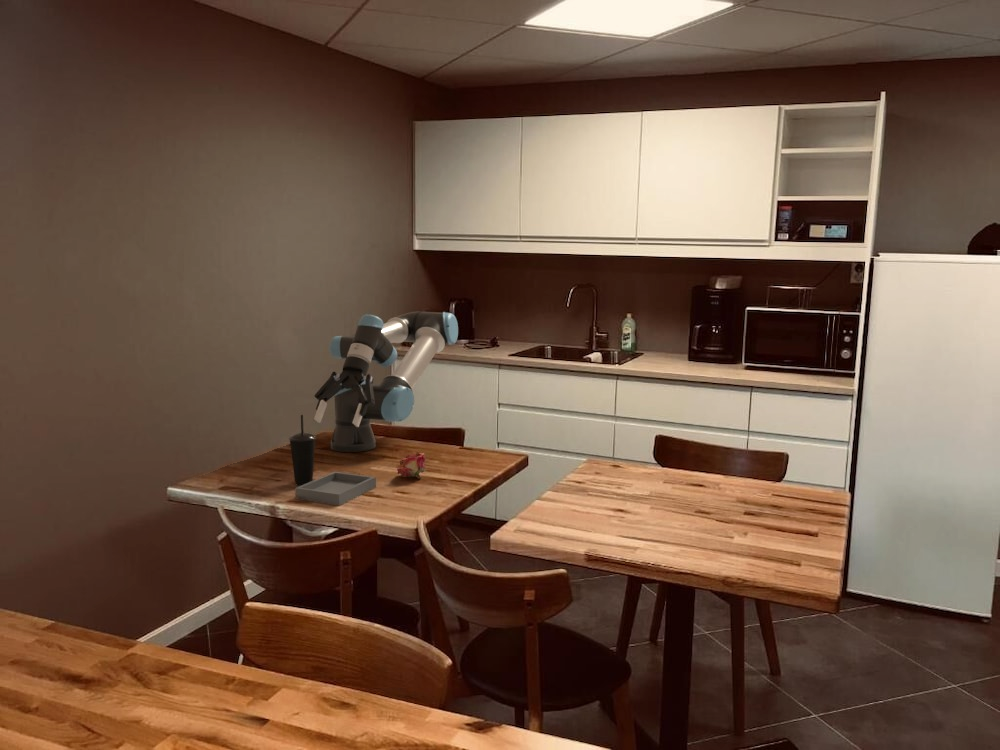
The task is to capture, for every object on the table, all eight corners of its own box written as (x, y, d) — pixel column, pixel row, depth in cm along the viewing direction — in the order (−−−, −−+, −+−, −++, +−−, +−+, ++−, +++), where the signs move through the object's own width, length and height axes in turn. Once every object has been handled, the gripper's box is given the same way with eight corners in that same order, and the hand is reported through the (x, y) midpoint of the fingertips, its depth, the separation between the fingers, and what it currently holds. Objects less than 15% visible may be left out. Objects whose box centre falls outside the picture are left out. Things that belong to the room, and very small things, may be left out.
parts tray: (334, 481, 230) (334, 471, 230) (376, 487, 225) (375, 477, 224) (295, 498, 214) (295, 488, 213) (339, 505, 209) (339, 494, 208)
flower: (438, 471, 236) (427, 447, 238) (423, 472, 227) (411, 447, 230) (413, 486, 239) (402, 462, 241) (397, 488, 231) (386, 463, 233)
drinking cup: (310, 487, 224) (308, 418, 221) (285, 486, 226) (283, 417, 223) (321, 480, 231) (320, 413, 228) (297, 478, 233) (295, 411, 230)
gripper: (318, 352, 248) (295, 414, 239) (387, 357, 238) (366, 421, 229) (330, 364, 254) (307, 424, 245) (398, 369, 244) (377, 432, 235)
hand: (336, 423), depth 237 cm, fingers open, 13 cm apart
